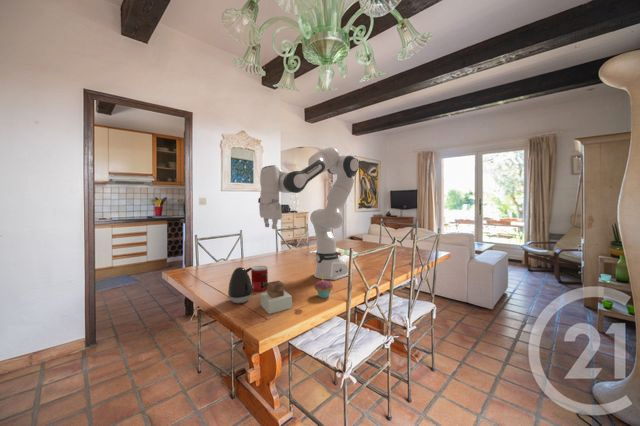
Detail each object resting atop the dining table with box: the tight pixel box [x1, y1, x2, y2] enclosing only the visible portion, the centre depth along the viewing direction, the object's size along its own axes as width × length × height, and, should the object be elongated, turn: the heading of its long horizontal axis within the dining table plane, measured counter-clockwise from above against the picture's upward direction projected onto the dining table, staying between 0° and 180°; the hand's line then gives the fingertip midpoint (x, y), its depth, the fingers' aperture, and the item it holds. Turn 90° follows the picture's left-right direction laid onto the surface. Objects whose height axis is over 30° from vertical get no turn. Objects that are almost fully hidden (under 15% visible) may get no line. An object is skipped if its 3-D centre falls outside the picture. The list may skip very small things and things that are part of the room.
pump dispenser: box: [227, 266, 253, 304], centre depth 112 cm, size 10×10×15 cm
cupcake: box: [314, 273, 334, 299], centre depth 117 cm, size 9×8×12 cm
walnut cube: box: [267, 280, 285, 298], centre depth 106 cm, size 5×5×5 cm
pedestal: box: [260, 290, 293, 315], centre depth 106 cm, size 10×10×5 cm
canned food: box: [250, 265, 269, 293], centre depth 127 cm, size 8×8×11 cm
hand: (270, 228), depth 123 cm, fingers open, 8 cm apart
